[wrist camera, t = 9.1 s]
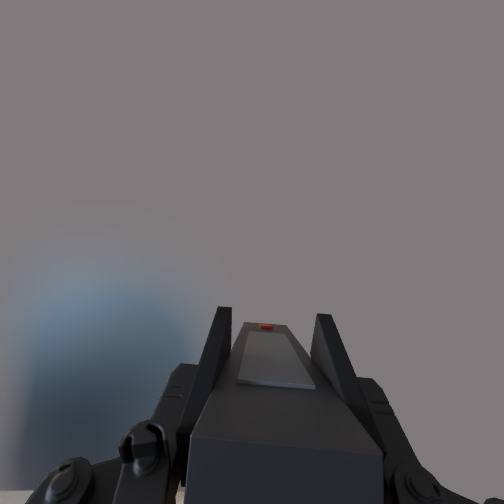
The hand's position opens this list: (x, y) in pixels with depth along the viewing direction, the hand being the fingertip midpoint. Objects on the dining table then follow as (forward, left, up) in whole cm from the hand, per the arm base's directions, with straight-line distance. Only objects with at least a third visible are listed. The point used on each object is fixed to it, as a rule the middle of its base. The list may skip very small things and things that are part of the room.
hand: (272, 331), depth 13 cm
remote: (-2, +2, -4) cm, 5 cm away
